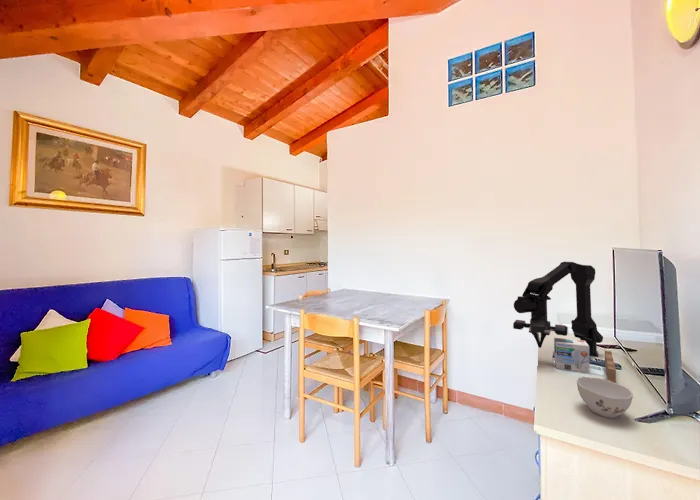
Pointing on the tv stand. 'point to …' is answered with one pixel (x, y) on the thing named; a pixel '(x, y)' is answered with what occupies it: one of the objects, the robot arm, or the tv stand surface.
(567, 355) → the light bulb box
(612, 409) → the white floral bowl
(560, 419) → the tv stand surface
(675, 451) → the tv stand surface
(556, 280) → the robot arm
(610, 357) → the walnut plank
